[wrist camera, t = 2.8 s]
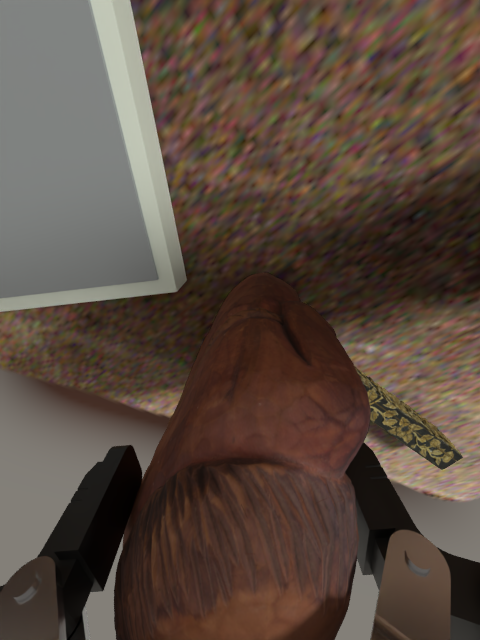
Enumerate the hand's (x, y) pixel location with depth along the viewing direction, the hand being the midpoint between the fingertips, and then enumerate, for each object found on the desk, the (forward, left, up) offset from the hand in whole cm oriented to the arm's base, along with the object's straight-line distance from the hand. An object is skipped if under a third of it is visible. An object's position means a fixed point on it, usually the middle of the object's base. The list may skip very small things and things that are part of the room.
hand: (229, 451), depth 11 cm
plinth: (+11, -13, -12) cm, 21 cm away
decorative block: (-12, +9, -12) cm, 20 cm away
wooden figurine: (-1, 0, -12) cm, 12 cm away
